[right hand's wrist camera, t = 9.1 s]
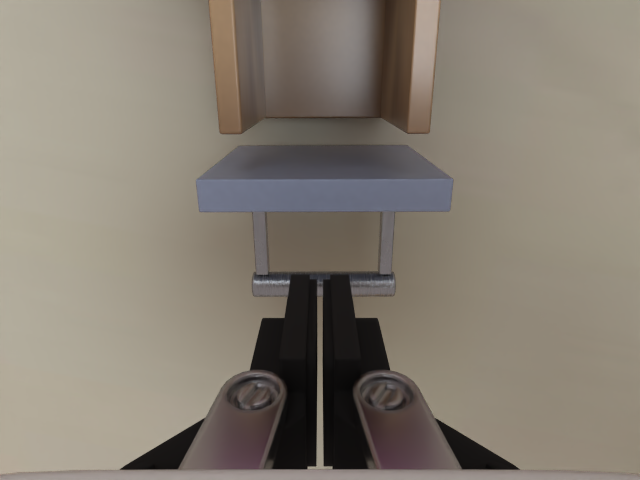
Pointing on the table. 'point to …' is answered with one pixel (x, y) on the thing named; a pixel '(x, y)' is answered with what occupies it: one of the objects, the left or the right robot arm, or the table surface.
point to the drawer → (324, 102)
